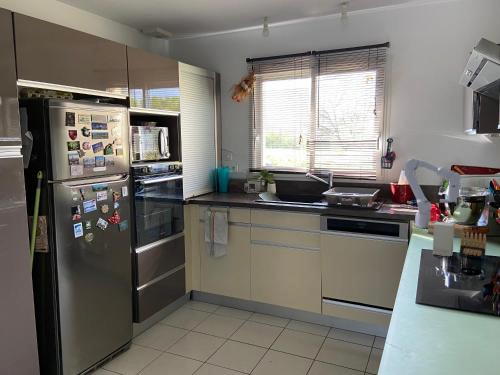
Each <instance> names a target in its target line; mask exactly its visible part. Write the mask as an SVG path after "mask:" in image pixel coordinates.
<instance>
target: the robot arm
mask: <svg viewBox="0 0 500 375" xmlns="http://www.w3.org/2000/svg"><path fill="white" fill-rule="evenodd" d="M404 164H405V165H404V166H405V168H404V176H405V178H406V180H407V183H408V185H409V186H410V188H411V191H412V192H413V194H414V197H415V200H416V204H417V210H418V211H417V212H416V213H415V215H414V216H415V217H414V218H415V219H414V223H413V224H412V225H414V226H416V227H418V228H420V229H428V223H429V221H431V214H432V212H431V209H432V208H433V207H432V203H431V202H430V201H429V200H428V199H427V198H426V196H425V194H424V192H423V190H422V188H421V186H420V184H419V182H418V180H417V178H416V176H415V174H416V173H415V172H416V171H417V169H418V168H425V169H427V170H430V171H433V172H435V174H436V175H437V176H439V177H441V178H443V179H445V180H448V181H449V183H448V194H447V199H445V198H444V199H443V198H440V199H439V203H441V204H442V203H443V204H445V203H446V204H447V206H448V208H449V211H450V212H449V213H450V216H454V215H453V212H454V213H455V211H454V206H456V204H452V202H455V203H457V198H458V196H459V197H460V187H461V186H460V184H461V183H460V181H461V179H462V177H461V174H460V173H458V172H455V170H450V169H448V168H447V167H446V166H441V167H438V166H436V165H434V164H432V163H430V162H428V161H426V160H424V159H419V158H418V157H413V158H409V159H408V160H407V161H406V162H405V163H404ZM452 211H453V212H452Z"/></svg>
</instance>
